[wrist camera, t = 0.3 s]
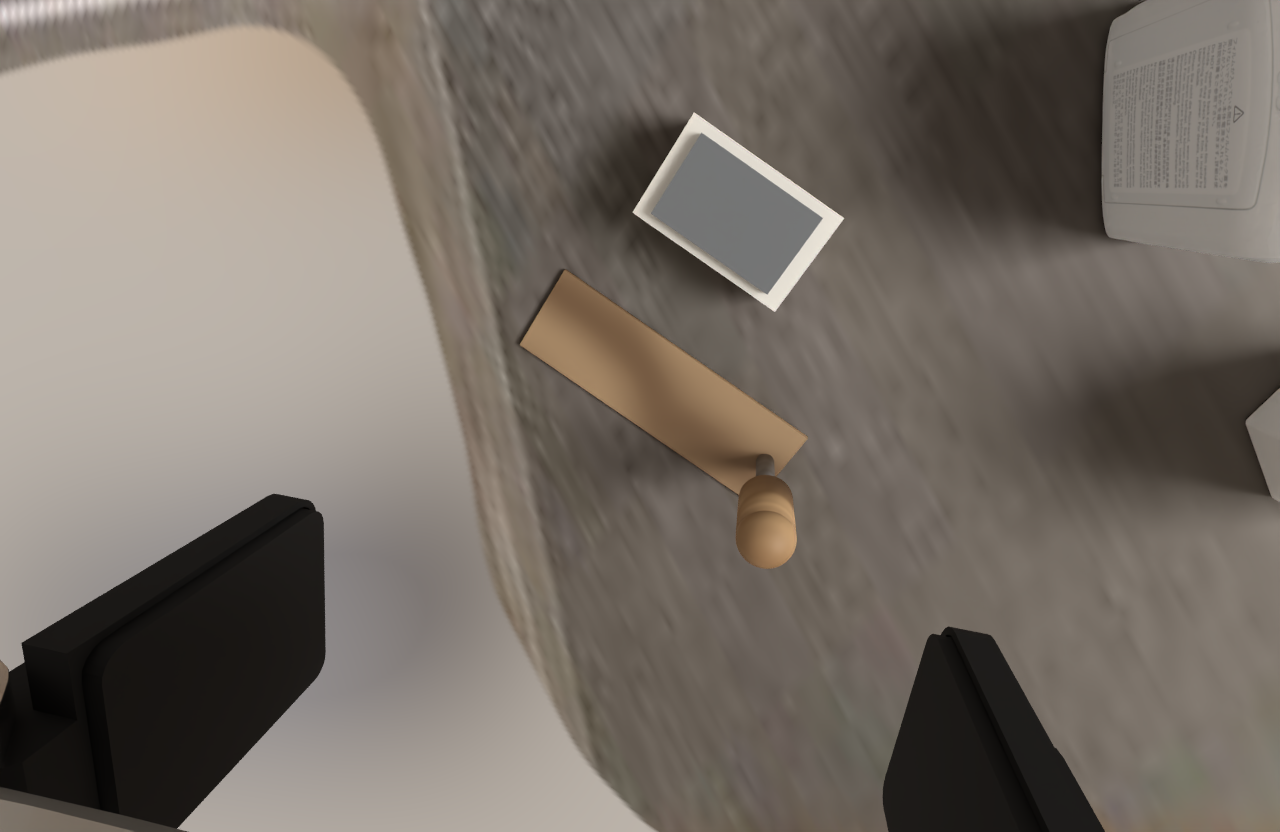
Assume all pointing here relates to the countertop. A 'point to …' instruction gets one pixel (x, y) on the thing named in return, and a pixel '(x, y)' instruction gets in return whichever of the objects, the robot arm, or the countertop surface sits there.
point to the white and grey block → (736, 213)
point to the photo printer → (1194, 127)
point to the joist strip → (657, 384)
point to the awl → (765, 518)
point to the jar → (1267, 441)
